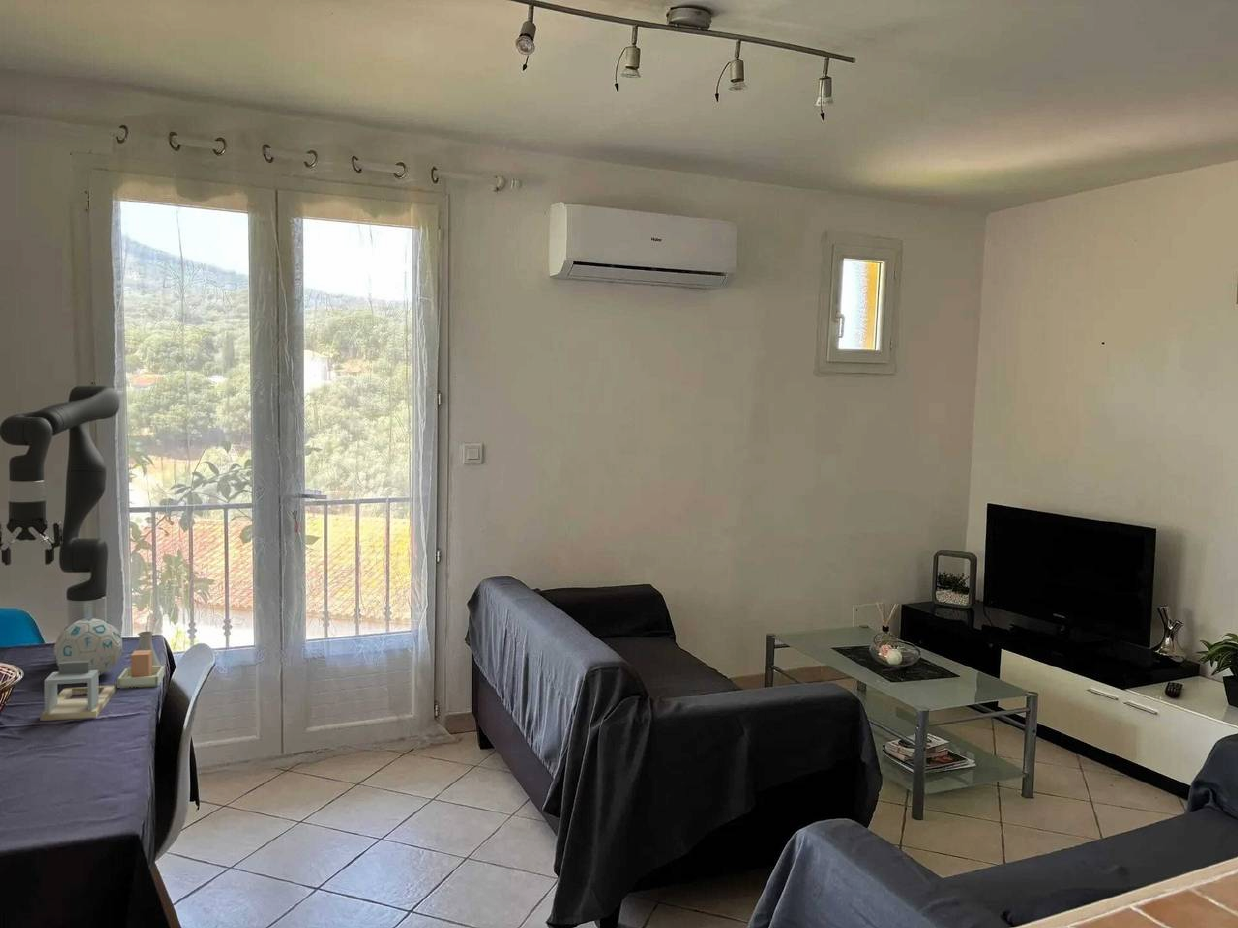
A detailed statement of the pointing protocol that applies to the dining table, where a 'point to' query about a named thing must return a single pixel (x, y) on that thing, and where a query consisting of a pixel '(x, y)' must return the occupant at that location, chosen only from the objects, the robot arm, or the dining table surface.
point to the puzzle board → (77, 704)
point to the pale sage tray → (141, 678)
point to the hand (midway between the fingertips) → (28, 564)
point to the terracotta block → (141, 663)
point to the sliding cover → (72, 674)
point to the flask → (148, 646)
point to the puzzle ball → (89, 644)
